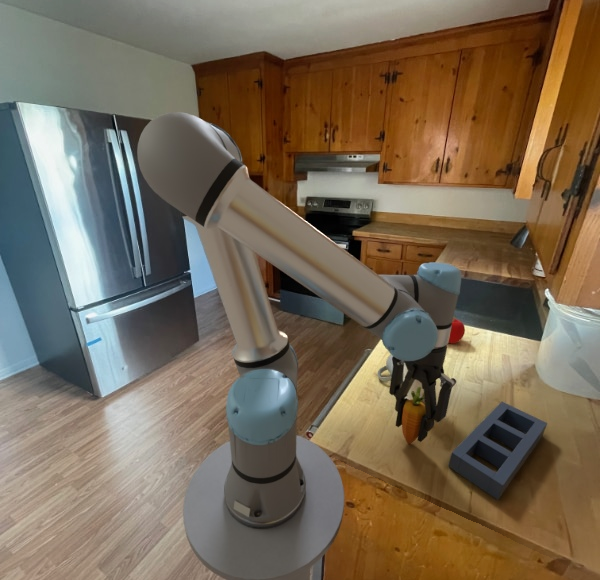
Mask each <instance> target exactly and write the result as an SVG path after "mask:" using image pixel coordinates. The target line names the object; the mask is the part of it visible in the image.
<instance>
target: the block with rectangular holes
mask: <svg viewBox="0 0 600 580" xmlns="http://www.w3.org/2000/svg"><path fill="white" fill-rule="evenodd" d="M547 426H548V422H546V421H544V420H542V419H540V418H537V417H536V416H533V415H532V414H529V413H527V412H525V411H523V410H521V409H519V408H517V407H515V406H512V405H510V404H508V403H506V402H505V401H500V403H498V405H497V406H496V407H495V408H493V410H492V411H491V412H490V413H489V414H488V415H487V416H486V417H485V418H484V419H483V420H482V421H481V422H480V423H479V424H478V425H477V426H476V427H475V428H474V429H473V430H472V431H471V432H470V433H469V434H468V435H467V436H466V437H465V438H464V439H463V440H462V441H461V443H459V444H458V446H456V448H455V449H453V451H452V452H451V454H450V458H449V462H448V468H450V469H451V470H453V471H454V472H456V473H458V474H459V475H460V476H461V477H463V478H465V479H466V480H468V481H469V482H470V483H472V484H473V485H475V486H477V487H478V488H479V489H480V490H482V491H484V492H485V493H487V494H488V495H489V496H491V497H492V498H494V499H496V500H497V501H499V499H500V498H501V496H502V495H503V493H504V492H506V489H507V488H508V486H509V485H510V484H511V483H512V481H513V479H514V478H515V477H516V475H517V474H518V472H519V471H520V469H521V468H522V466H523V465H524V463H525V462H526V461H527V460H528V458H529V457H530V455H531V453H532V452H533V451H534V449H535V448H536V446H537V445H538V443H539V442H540V440H541V439H542V438H543V436H544V434H545V431H546V428H547ZM490 438H492V439H494V440H496V441H497V442H499V443H501V444H503V445H504V446H507V447H508V448H510V449H512V451H511V450H509V449H507V448H505V447H504V446H502V445H500V444H498V443H497V442H495V441H493V440H492V439H490ZM474 455H477V456H478V457H479V458H481V459H483V460H485V461H486V462H488V463H490V464H492V465H493V466H495V467H496V468H497V469H498V470H497V471H494V470H493V469H491V468H489V466H486V465H484V464H483V463H481V462H479V461H478V460H476V459H475V458H474V457H473V456H474Z"/></svg>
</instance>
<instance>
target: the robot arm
mask: <svg viewBox="0 0 600 580" xmlns="http://www.w3.org/2000/svg"><path fill="white" fill-rule="evenodd" d="M136 150H137V151H136V153H137V163H138V166H139V170H140V172H141V175H142V177H143V178H144V181H146V183H147V185H148V186H149V187H150V189H151V190H152V191H153V192H154V193H155V194H156V195H158V197H160V198H161V199H162V200H163V201H164V202H166V203H167V204H169V205H170V206H172V207H173V208H175V209H176V210H178V211H179V212H180V214H181V217H182V219H183V220H185V221H187V222H189V223H191V224H192V225H194V227H195V230H196V232H197V234H198V238H199V240H200V243H201V246H202V249H203V252H204V255H205V258H206V260H207V264H208V266H209V269H210V272H211V275H212V278H213V281H214V284H215V286H216V290H217V292H218V294H219V297H220V300H221V303H222V306H223V309H224V312H225V314H226V318H227V320H228V324H229V327H230V329H231V331H232V334H233V337H234V340H235V345H234V347H232V350H231V354H232V358H233V360H234V363H235V366H236V369H237V372H238V375H239V377H238V378H237V379H235V381H234V382H233V383H232V385H231V386H230V388H229V390H228V392H227V396H226V405H225V414H226V420H227V428H228V435H229V441H230V448H231V458H232V463H231V466H230V469H229V472H228V475H227V477H226V480H225V485H224V495H225V503H226V506H227V509H228V511H229V512H230V514H231V515H232V517H233V518H234V519H235V520H237V521H238V522H239V523H241V524H243V525H245V526H247V527H250V528H255V529H269V528H273V527H277V526H279V525H281V524H283V523H285V522H287V521H288V520H290V519H291V518H292V517H293V516H294V515H295V514H296V513H297V512H298V510H299V509H300V507H301V505H302V503H303V501H304V497H305V485H306V482H305V475H304V472H303V470H302V467H301V465H300V463H299V460H298V458H297V456H296V437H297V435H298V434H297V433H298V432H297V431H298V430H297V427H298V422H297V421H298V410H299V400H298V399H299V397H298V374H299V362H298V357H297V354H296V352H295V351H296V350H295V349H294V348H293V346H292V344H290V341H289V337H288V335H287V333H285V332H284V331H281V330H279V329H278V327H277V323H276V319H275V315H274V313H273V309H272V305H271V302H270V298H269V295H268V291H267V288H266V285H265V282H264V278H263V274H262V271H261V267H260V265H259V261H258V258H257V255H258V256H259V257H261V258H262V259H264V260H265V261H266V262H268V263H270V264H271V265H272V266H274V267H275V268H277V269H278V270H280V271H281V272H282V273H284V274H286V275H287V276H288V277H290V278H291V279H293V280H294V281H295V282H297V283H299V284H300V285H302V286H303V287H304V288H306V289H307V290H308V291H310V292H312V293H314V294H315V295H316V296H317V297H319V298H321V299H322V300H323V301H325V302H326V303H328V304H330V305H331V306H332V307H334V308H335V309H337V310H338V311H340V312H341V313H343V314H344V315H345V316H347V317H349V318H350V319H351V320H353V321H354V322H356V323H357V324H358V325H360V326H362V327H363V328H365V330H367V331H369V332H370V333H371V334H373V335H374V336H376V337H377V338H378V339H380V340H381V341H382V345H383V346H384V348H385V349H386V350H387V351H388V353H389V354H390V355H392V356H393V357H392V362H393V371H392V377H391V381H390V384H389V391H388V393H389V394H390V395H391V396H393V397H395V406H394V410H395V411H396V412H397V414H396V421H395V427H397V428H399V427H402V415H403V407H404V405H405V402H406V401H407V400H409V399H407V398H405V397H406V396H408V395H407V394H408V392H409V390H410V388H411V386H412V384H413V382H414V381H415V380H418V381H419V382H421V383H422V389H424V391H423V396H424V399H423V400H424V405H425V412H426V414H425V415H423V416H422V419H421V424H420V429H419V434H418V437H417V439H416V440H417V442H419V443H421V442H422V441H424V440H425V439H426V438H427V437H428V434H429V432H430V431H431V430H432V429H433V428H434V425H435V422H436V423H440V422H441V421H442V420H443V419H444V418H446V417H447V412H448V408H449V402H450V398H451V394H452V389H453V387H454V386H455V385H456V384H457V379H456V378H454V377H451V378H450V377H449V376H448V375H446V374H445V369H444V363H445V359H446V355H447V350H448V344H449V343H448V341H449V336H450V332H451V327H452V322H453V318H454V315H455V313H456V307H457V303H458V299H459V295H460V294H461V284H462V271H461V269H459V268H458V267H457V266H455V265H452V264H450V263H445V262H436V261H435V262H434V261H430V262H424V263H422V264H420V266H419V267H418V270H417V272H416V274H411V275H410V274H408V275H407V274H377V273H376V272H375V271H374V270H372V269H371V268H370V267H369V266H367V265H366V264H364V263H363V262H362V261H360V260H359V259H357V258H356V257H355V256H354V255H352V254H351V253H349V252H348V251H347V250H345V249H344V248H343V247H341V246H340V245H339V244H337V242H335V241H333V240H332V239H331V238H330V237H328V236H327V235H325V234H324V233H323V232H321V231H320V230H319V229H317V228H316V227H315V226H313V225H312V224H311V223H309V222H308V221H306V220H305V219H304V218H303V217H301V216H300V215H299V214H297V213H296V212H295V211H293V210H292V209H291V208H290V207H288V206H286V205H285V204H284V203H282V202H281V201H280V200H279V199H278V198H276V197H275V196H273V195H271V194H270V193H269V192H267V191H266V190H265V189H264V188H262V187H261V186H260V185H259V184H258V183H256V182H254V181H253V180H252V179H251V178H250V175H249V174H250V173H249V170H248V166H246V165H245V164H244V163H243V157H242V154H241V153H242V152H241V151H240V148H239V147H238V145H237V144H236V142H235V140H234V139H233V137H231V135H230V134H229V133H228V132H226V131H225V130H224V129H223V128H221V127H220V126H219V125H216V124H214V123H212V122H208V121H205V120H204V119H201V118H200V117H198V116H196V115H193V114H190V113H187V112H181V111H172V112H166V113H163V114H160V115H158V116H155V118H153V119H151V120H150V121H149V122H148V123H147V125H145V127H144V128H143V130H142V132H141V133H140V136H139V140H138V142H137V149H136ZM404 363H405V365H406V367H407V370H408V372H407V374H406V376H405V379H404V381H403V383H402V385H401V380H402V375H403V369H404ZM437 380H440V384H439V386H440V389H439V392H438V397H437V392H436V391H437V389H436V386H437ZM437 398H438V399H437Z"/></svg>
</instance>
